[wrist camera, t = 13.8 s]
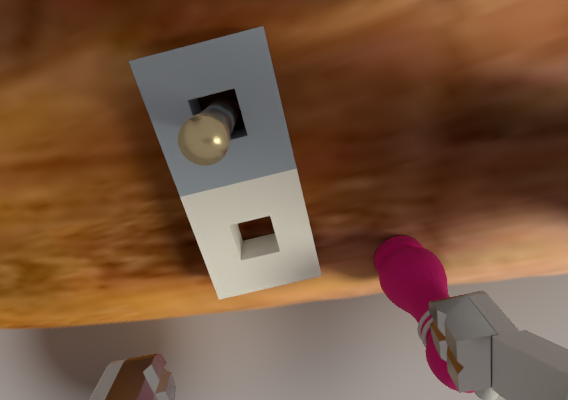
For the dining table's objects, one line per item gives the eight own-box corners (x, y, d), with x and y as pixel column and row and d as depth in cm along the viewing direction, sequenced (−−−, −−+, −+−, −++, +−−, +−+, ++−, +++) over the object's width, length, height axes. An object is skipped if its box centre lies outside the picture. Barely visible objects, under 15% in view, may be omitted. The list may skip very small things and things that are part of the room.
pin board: (263, 29, 34) (263, 26, 30) (316, 255, 44) (321, 275, 40) (144, 60, 35) (128, 61, 31) (223, 276, 45) (219, 299, 40)
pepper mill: (380, 288, 47) (456, 442, 28) (362, 245, 44) (433, 383, 25) (432, 268, 46) (547, 412, 27) (417, 222, 43) (533, 347, 25)
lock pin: (235, 91, 36) (220, 110, 23) (244, 123, 38) (234, 159, 25) (203, 99, 36) (170, 123, 23) (213, 131, 38) (187, 170, 25)
